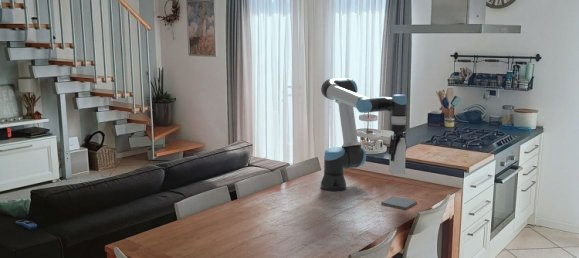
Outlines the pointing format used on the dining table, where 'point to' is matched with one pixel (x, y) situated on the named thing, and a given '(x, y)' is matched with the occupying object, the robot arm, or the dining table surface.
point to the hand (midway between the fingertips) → (397, 165)
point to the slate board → (399, 202)
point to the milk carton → (399, 158)
